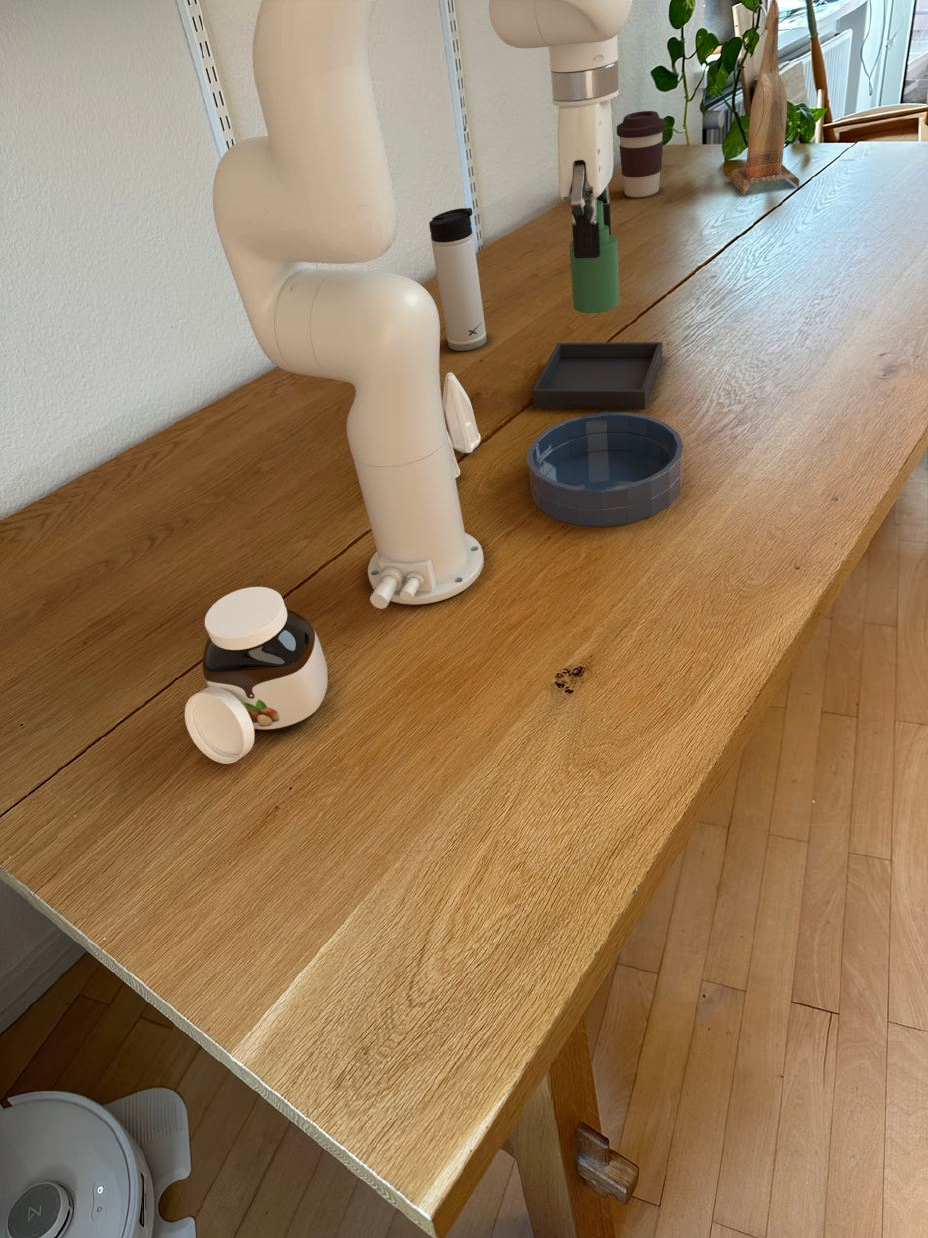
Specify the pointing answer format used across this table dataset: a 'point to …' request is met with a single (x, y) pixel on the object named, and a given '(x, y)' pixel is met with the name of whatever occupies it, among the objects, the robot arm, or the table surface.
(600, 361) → the tray
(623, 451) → the bowl
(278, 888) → the table surface
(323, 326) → the robot arm
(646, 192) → the coffee cup
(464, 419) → the white fin shape
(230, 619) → the spread jar
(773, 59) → the bird sculpture
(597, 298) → the bottle
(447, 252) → the travel mug
